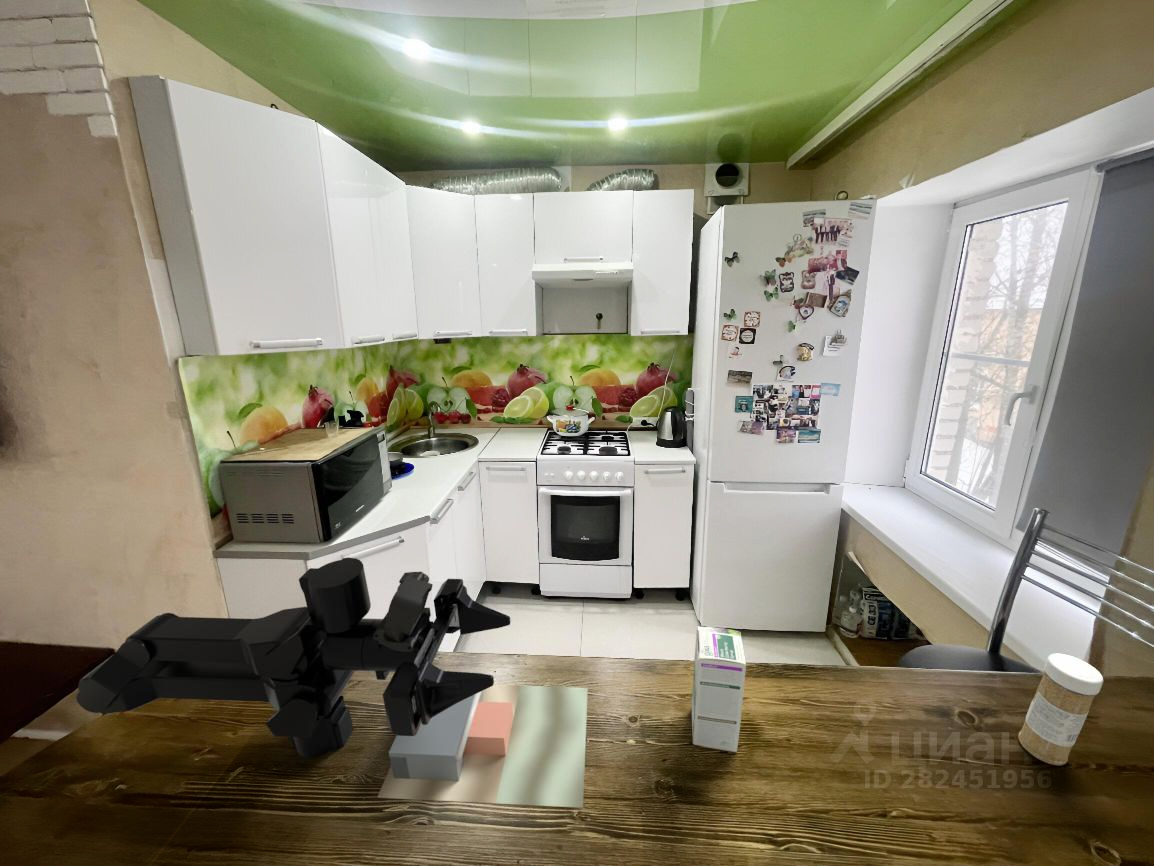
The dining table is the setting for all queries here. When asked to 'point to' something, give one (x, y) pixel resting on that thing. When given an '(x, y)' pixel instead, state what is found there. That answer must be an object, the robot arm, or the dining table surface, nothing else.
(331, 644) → the robot arm
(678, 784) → the dining table surface
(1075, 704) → the sprinkles bottle
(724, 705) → the syrup box
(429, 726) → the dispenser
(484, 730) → the pink eraser
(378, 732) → the dining table surface
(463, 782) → the board
